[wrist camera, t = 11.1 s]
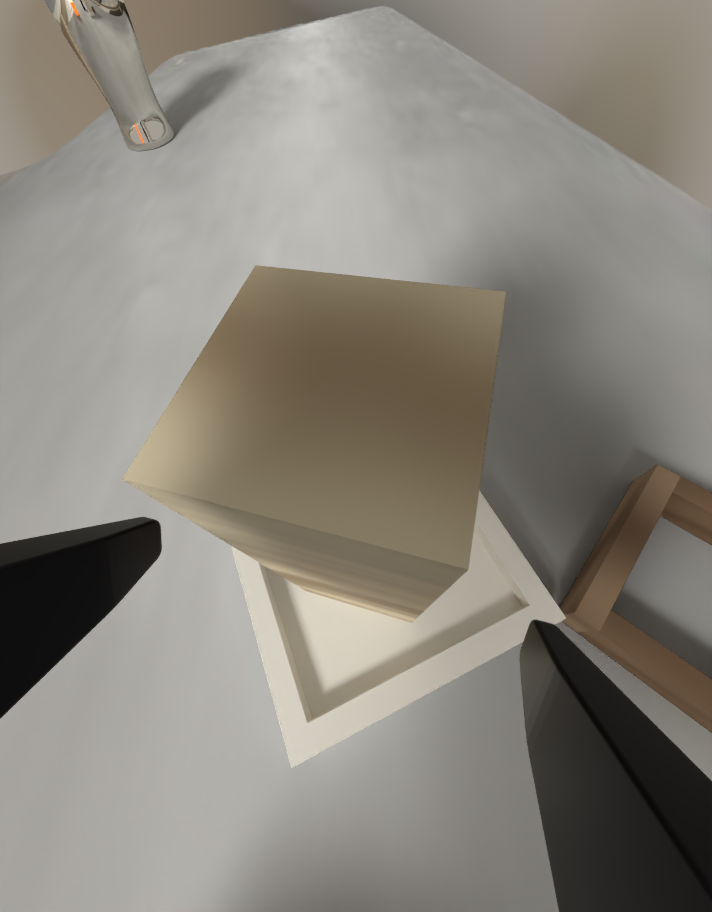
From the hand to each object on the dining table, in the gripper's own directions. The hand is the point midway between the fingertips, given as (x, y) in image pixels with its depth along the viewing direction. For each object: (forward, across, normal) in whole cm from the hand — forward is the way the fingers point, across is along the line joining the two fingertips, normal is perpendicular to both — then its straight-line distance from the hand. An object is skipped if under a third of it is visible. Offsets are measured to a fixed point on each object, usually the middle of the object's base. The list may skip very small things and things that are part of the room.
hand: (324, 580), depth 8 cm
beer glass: (+39, +39, -26) cm, 61 cm away
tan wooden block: (+8, 0, +4) cm, 9 cm away
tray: (+9, 0, +5) cm, 10 cm away
